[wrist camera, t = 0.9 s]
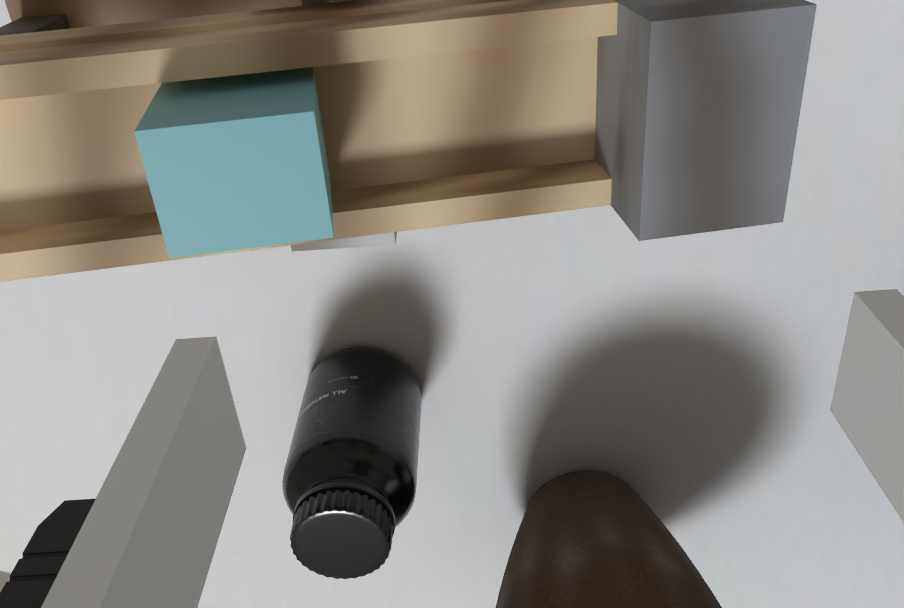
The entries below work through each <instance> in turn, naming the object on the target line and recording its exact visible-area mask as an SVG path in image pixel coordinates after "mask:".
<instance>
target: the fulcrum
mask: <svg viewBox="0 0 904 608" xmlns="http://www.w3.org/2000/svg"><path fill="white" fill-rule="evenodd" d="M345 1H356V0H5V3H6V6H7V9H8V12H9V15H10V18H11V21H12V22H11V23H9V24H7V25H5V26H3V27H0V36H1V35H11V34H22V33H32V32H42V31H52V30H62V29H72V28H82V27H92V26H103V25H113V24H123V23H133V22H143V21H153V20H163V19H173V18H184V17H194V16H204V15H214V14H224V13H234V12H244V11H254V10H265V9H275V8H285V7H295V6H305V5H315V4H325V3H335V2H345ZM396 236H397V232H391V233H383V234H375V235H367V236H359V237H351V238H343V239H335V240H327V241H320V242H312V243H304V244H296V245H291V249H292V251H303V250H318V249H334V248H349V247H365V246H380V245H396Z"/></svg>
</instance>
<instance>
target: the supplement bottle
mask: <svg viewBox="0 0 904 608" xmlns="http://www.w3.org/2000/svg"><path fill="white" fill-rule="evenodd" d="M420 415H421V392H420V387H419V384H418V381H417V379H416V377H415V375H414V374H413V372H412V371H411V370H410V368H409V367H408V366H407V365H406V364H405V363H403V362H402V361H401V360H400V359H398V358H397V357H395V356H393V355H391V354H389V353H387V352H384V351H381V350H378V349H373V348H363V347H358V348H349V349H345V350H341V351H338V352H336V353H334V354H331V355H330V356H328V357H326V358H325V359H324V360H322V361H321V362H320V363H319V364H318V365H317V366H316V367H315V369H314V370H313V372H312V373H311V375H310V377H309V380H308V382H307V386H306V389H305V393H304V396H303V400H302V404H301V408H300V412H299V416H298V420H297V423H296V427H295V431H294V435H293V439H292V443H291V447H290V451H289V454H288V458H287V462H286V466H285V470H284V476H283V493H284V497H285V500H286V503H287V505H288V507H289V509H290V511H291V512H292V514H293V525H292V530H291V535H290V540H291V548H292V549H293V554H294V555H296V557H297V560H299V561H300V562H301V563H302V565H303V566H306V567H307V568H308V569H309V570H311V571H314V572H316V573H317V574H320V575H324V576H326V577H333V578H336V579H338V578H343V579H348V578H357V577H359V576H365V575H366V574H369V573H372V572H373V571H374V570H376V569H379V568H380V566H381V565H382V564H384V563H385V560H386V559H387V558H388V556H389V552H390V550H391V544H392V537H393V534H394V530H395V527H396V526H397V525H399V524H400V523H401V522H402V521H403V519H404V518H405V517H406V516H407V514H408V513H409V511H410V509H411V507H412V505H413V502H414V498H415V492H416V482H417V466H418V449H419V432H420Z"/></svg>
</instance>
